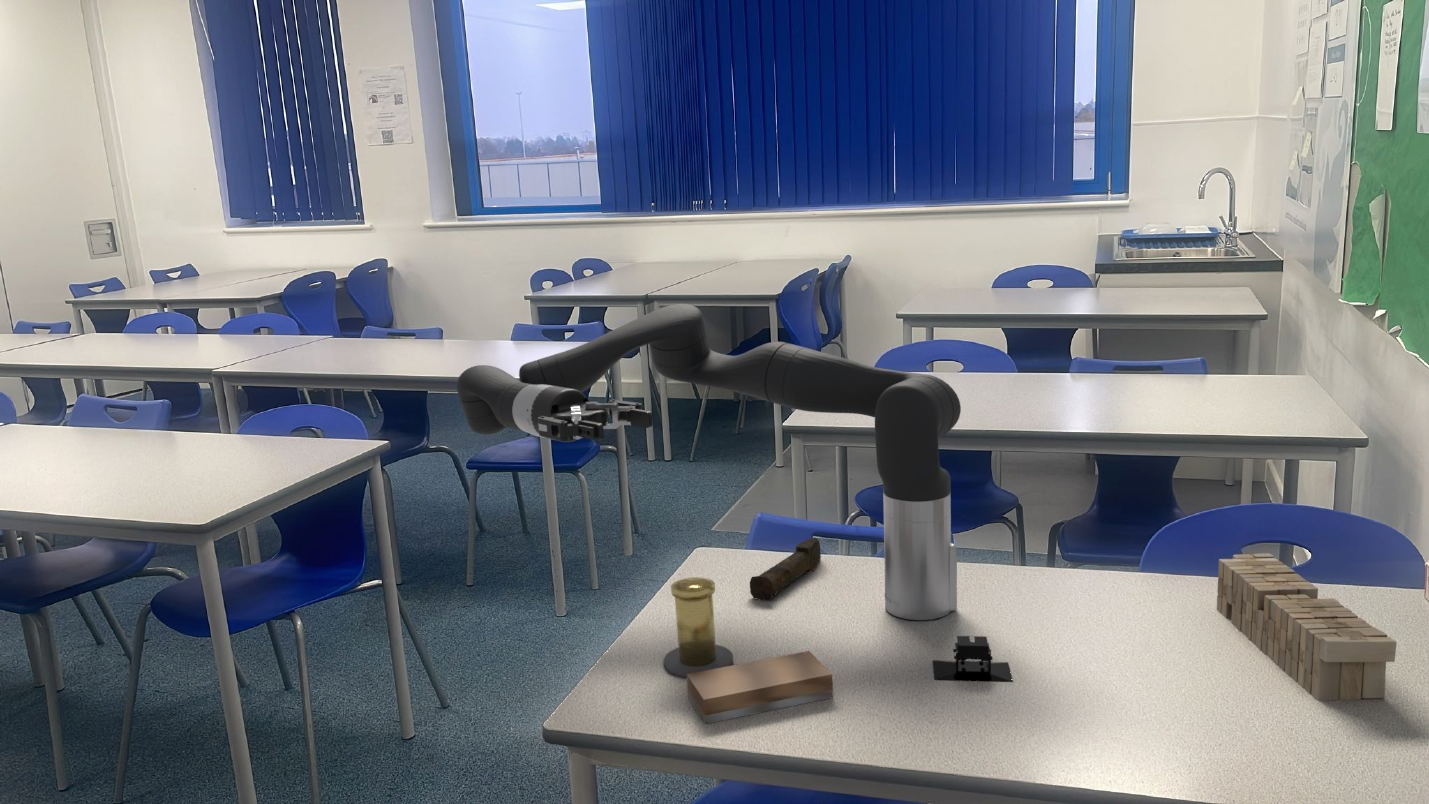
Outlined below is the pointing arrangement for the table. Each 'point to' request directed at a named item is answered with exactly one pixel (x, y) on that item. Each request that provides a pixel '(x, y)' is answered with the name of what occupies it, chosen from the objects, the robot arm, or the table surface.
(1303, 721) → the table surface
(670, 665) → the rubber pad
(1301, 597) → the block tower
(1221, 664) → the table surface
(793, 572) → the hand tool
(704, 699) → the body
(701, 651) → the flanged brass cylinder
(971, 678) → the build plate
